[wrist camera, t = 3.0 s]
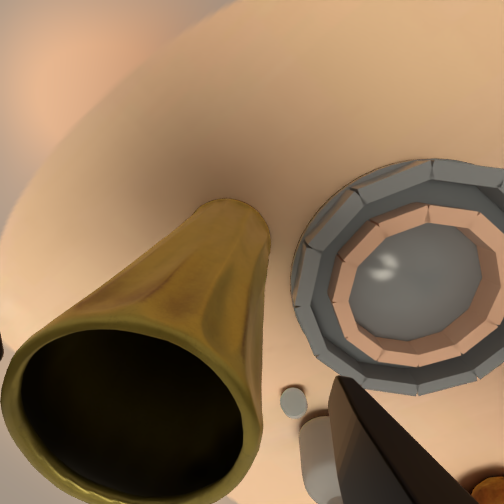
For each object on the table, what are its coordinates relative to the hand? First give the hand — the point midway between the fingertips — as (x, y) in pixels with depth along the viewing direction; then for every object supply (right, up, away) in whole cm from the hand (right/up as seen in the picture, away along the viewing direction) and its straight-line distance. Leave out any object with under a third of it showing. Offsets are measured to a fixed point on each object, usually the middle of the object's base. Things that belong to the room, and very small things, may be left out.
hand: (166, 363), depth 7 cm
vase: (0, +4, +12) cm, 13 cm away
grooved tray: (+13, +1, +12) cm, 18 cm away
